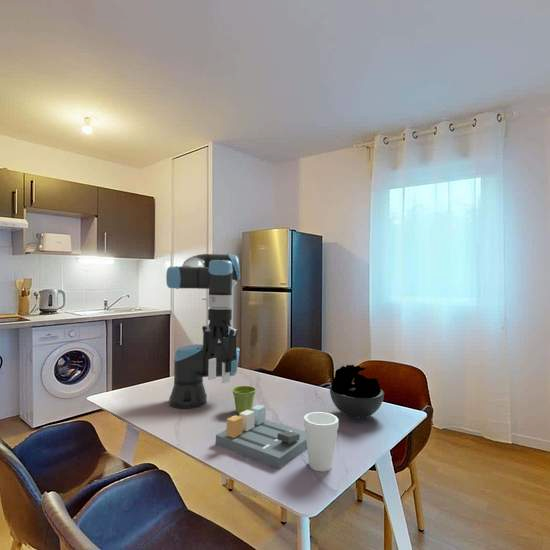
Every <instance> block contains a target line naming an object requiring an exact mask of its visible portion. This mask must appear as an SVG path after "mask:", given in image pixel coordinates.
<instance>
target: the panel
mask: <svg viewBox="0 0 550 550" xmlns="http://www.w3.org/2000/svg"><path fill="white" fill-rule="evenodd" d="M226 430H227V429H226ZM226 430H223V431H221V432H219V433H217V434H215V445H216V446H218V447H221V448H224V449H226V450H229V451H231V452H234V453H237V454H239V455H242V456H244V457H247V458H249V459H252V460H255V461H258V462H260V463H262V464H265V465H268V466H270V467H273V468H276V469H278V470H280V469H282V468H283V467H284V466H285V465H287V464H288V463H290V462H292V460H293V459H295V458H297V457H298V456H299V455H300V454H301V453H303V452H304V451H306V450H307V442H306V433H305V430H302V429H298V428H295V427H292V426H288V425H285V424H281V423H278V422H274V421H272V420H267V419H265V422H263V423H261V424H259V425H256V424H254V428H252V429H250V430H248V431H244V430H242V434H240V435H239V436H237V437H235V438H232V437H229V436H227V435H226ZM286 431H290V432H294V433H297V434H300V437H299V440H297V441H294V442H290V443H287V442H284V441H281V440H278V439H277V436H278V433H282V432H286Z"/></svg>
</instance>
